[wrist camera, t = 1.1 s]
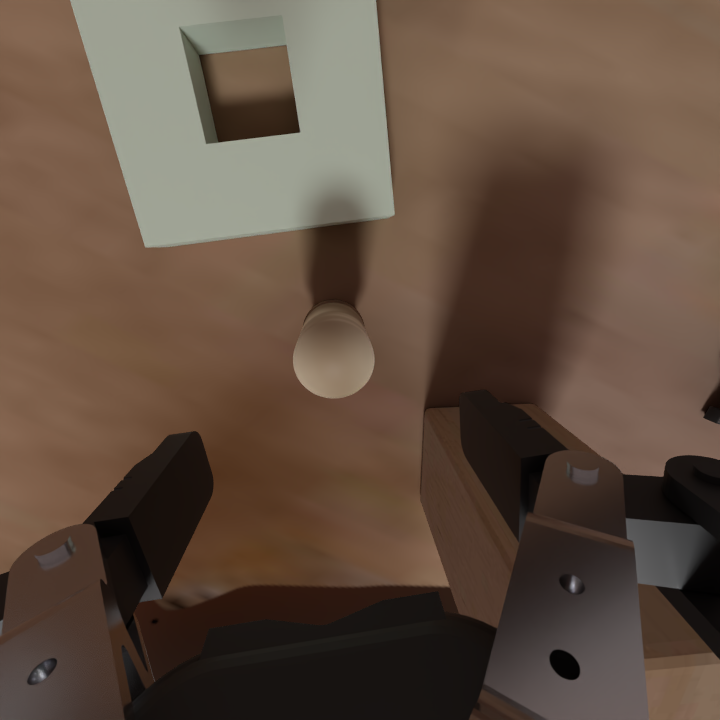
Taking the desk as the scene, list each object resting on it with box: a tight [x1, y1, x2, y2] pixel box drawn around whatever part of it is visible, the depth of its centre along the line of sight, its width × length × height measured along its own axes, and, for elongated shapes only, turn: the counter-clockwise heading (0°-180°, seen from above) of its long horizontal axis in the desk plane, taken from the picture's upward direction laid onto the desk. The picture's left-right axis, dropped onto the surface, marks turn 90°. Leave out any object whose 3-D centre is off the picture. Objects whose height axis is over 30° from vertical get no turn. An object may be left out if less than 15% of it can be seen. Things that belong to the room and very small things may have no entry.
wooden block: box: [421, 404, 720, 720], centre depth 23 cm, size 10×10×20 cm
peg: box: [293, 300, 375, 398], centre depth 23 cm, size 4×4×10 cm
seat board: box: [70, 0, 395, 247], centre depth 21 cm, size 16×16×3 cm
